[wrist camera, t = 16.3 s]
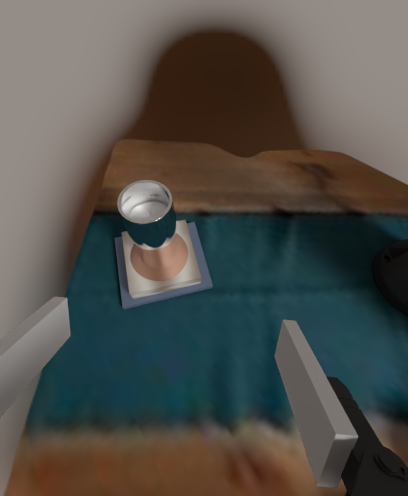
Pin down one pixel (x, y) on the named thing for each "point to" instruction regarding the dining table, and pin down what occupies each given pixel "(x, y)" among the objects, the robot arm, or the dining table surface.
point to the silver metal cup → (150, 221)
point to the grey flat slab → (130, 302)
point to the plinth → (159, 281)
